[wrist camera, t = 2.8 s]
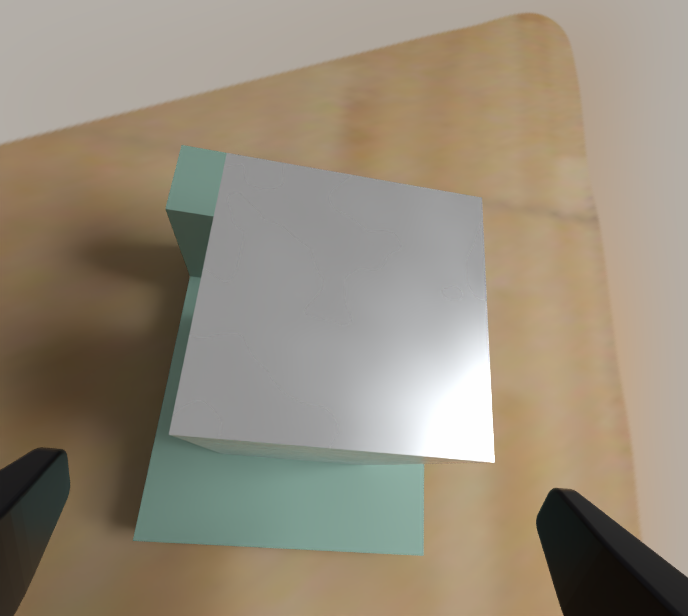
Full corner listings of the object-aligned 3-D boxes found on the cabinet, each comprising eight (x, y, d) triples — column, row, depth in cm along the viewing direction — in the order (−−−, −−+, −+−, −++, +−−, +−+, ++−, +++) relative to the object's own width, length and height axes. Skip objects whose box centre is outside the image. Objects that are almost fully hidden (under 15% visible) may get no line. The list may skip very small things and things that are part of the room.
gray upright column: (363, 465, 16) (494, 462, 7) (222, 454, 16) (168, 434, 7) (370, 334, 18) (482, 197, 9) (244, 318, 18) (227, 153, 8)
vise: (406, 546, 18) (490, 591, 11) (147, 532, 16) (72, 575, 10) (411, 276, 22) (474, 196, 15) (206, 246, 20) (181, 145, 14)
